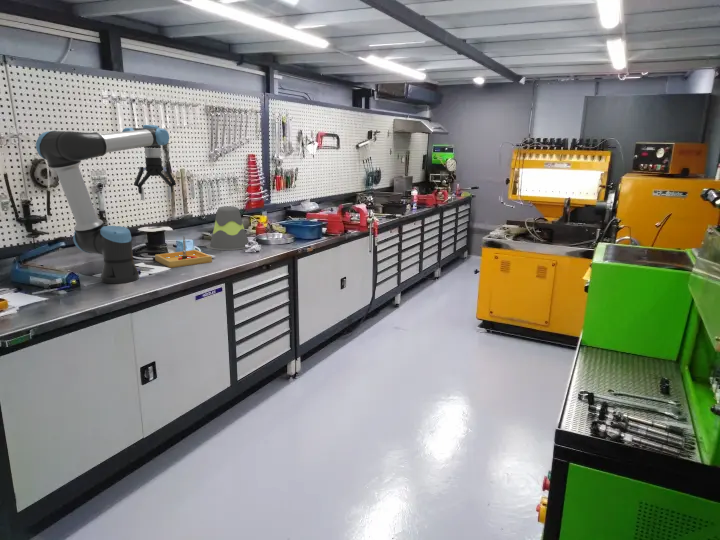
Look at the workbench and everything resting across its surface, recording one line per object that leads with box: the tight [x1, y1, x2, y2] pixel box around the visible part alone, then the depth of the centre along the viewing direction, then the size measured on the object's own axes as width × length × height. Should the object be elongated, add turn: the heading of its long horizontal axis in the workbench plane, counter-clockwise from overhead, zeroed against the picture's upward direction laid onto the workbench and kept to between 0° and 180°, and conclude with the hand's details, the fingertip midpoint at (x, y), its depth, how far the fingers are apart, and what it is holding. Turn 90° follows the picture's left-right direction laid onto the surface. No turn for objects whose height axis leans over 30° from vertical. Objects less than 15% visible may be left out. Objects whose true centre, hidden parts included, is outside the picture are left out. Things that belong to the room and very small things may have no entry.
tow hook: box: [178, 235, 197, 260], centre depth 250 cm, size 8×13×9 cm
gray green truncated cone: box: [205, 205, 250, 251], centre depth 290 cm, size 28×28×24 cm
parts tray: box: [154, 249, 213, 269], centre depth 249 cm, size 22×20×3 cm
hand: (156, 199), depth 243 cm, fingers open, 13 cm apart
